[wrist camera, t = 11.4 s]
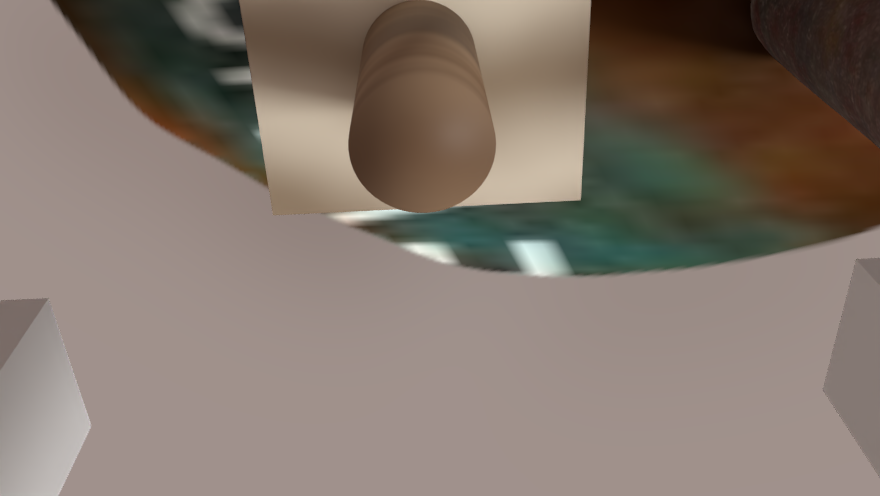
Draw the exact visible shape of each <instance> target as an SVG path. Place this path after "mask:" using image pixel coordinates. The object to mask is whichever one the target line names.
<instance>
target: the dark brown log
mask: <svg viewBox="0 0 880 496" xmlns="http://www.w3.org/2000/svg"><path fill="white" fill-rule="evenodd" d="M751 20H752V26H753V30H754V32H755V34H756V36H757V38H758V40H759V41H760V42H761V43H762V45H763V46H764V48H765V49H766V50H767V51H768V52H769V53H770V54H771V55H772V56H773V57H774V58H775V59H776V60H777V61H778V62H779V63H780V64H782V65H783V66H784V67H785V68H786V69H787V70H788V71H789V72H790V73H792V74H793V75H794V76H795V77H796V78H797V79H798V80H799V81H800V82H802V83H803V84H804V85H805V86H806V87H808V88H809V89H810V90H811V91H812V92H813V93H815V94H816V95H817V96H818V97H819V98H821V99H822V100H823V101H824V102H825V103H827V104H828V105H829V106H830V107H831V108H832V109H834V110H835V111H836V112H838V113H839V114H840V115H841V116H843V117H844V118H845V119H846V120H847V121H848V122H850V123H851V124H852V125H853V126H854V127H855V128H856V129H858V130H859V131H860V132H861V133H862V134H864V135H865V136H866V137H867V138H868V139H870V140H871V141H872V142H873V143H874V144H875V145H876V146H877V147H879V148H880V0H751Z"/></svg>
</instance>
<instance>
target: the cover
mask: <svg viewBox="0 0 880 496" xmlns="http://www.w3.org/2000/svg"><path fill="white" fill-rule="evenodd" d="M239 3H240V9H241V15H242V22H243V28H244V34H245V41H246V47H247V53H248V59H249V66H250V72H251V78H252V85H253V91H254V97H255V104H256V110H257V116H258V123H259V129H260V135H261V142H262V148H263V154H264V161H265V167H266V173H267V179H268V186H269V192H270V198H271V204H272V211H273V215H289V214H309V213H329V212H350V211H370V210H390V209H399V210H404V211H408V212H416V213H428V212H436V211H440V210H444V209H447V208H450V207H453V206H472V205H492V204H512V203H532V202H553V201H573V200H581V184H582V164H583V145H584V126H585V107H586V88H587V69H588V49H589V30H590V11H591V0H239Z"/></svg>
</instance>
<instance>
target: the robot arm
mask: <svg viewBox="0 0 880 496" xmlns="http://www.w3.org/2000/svg"><path fill="white" fill-rule="evenodd" d="M823 391H824V393H825V394H826V395H827V397H828V399H829V400H830V402H831V403H832V405H833V406H834V408H835V410H836V411H837V413H838V414H839V416H840V417H841V419H842V420H843V422H844V423H845V425H846V426H847V428H848V430H849V431H850V433H851V434H852V436H853V437H854V439H855V440H856V442H857V443H858V445H859V446H860V448H861V449H862V451H863V453H864V454H865V456H866V457H867V459H868V460H869V462H870V463H871V465H872V466H873V468H874V469H875V471H876V473H877V474H878V476H879V477H880V258H871V259H856V261H855V265H854V270H853V273H852V277H851V281H850V285H849V289H848V293H847V297H846V301H845V305H844V309H843V313H842V316H841V321H840V324H839V328H838V332H837V336H836V340H835V344H834V348H833V352H832V356H831V360H830V364H829V368H828V372H827V376H826V379H825V383H824V387H823ZM90 428H91V423H90V420H89V417H88V414H87V411H86V408H85V405H84V403H83V400H82V396H81V394H80V390H79V387H78V384H77V382H76V379H75V375H74V372H73V370H72V367H71V364H70V361H69V358H68V355H67V352H66V349H65V346H64V343H63V340H62V337H61V334H60V331H59V328H58V325H57V322H56V319H55V316H54V313H53V310H52V307H51V304H50V301H49V298H44V299H22V300H3V301H1V302H0V496H58V495H59V493H60V491H61V489H62V487H63V485H64V482H65V481H66V478H67V476H68V474H69V472H70V470H71V468H72V466H73V464H74V462H75V459H76V457H77V455H78V453H79V451H80V449H81V447H82V445H83V443H84V441H85V439H86V436H87V434H88V432H89V430H90Z"/></svg>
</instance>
